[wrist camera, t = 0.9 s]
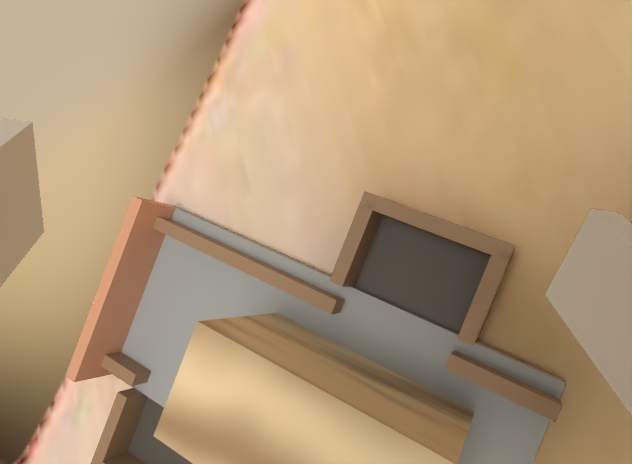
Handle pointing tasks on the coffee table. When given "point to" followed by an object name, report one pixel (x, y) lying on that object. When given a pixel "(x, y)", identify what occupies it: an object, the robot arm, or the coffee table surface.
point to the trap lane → (313, 318)
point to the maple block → (300, 402)
